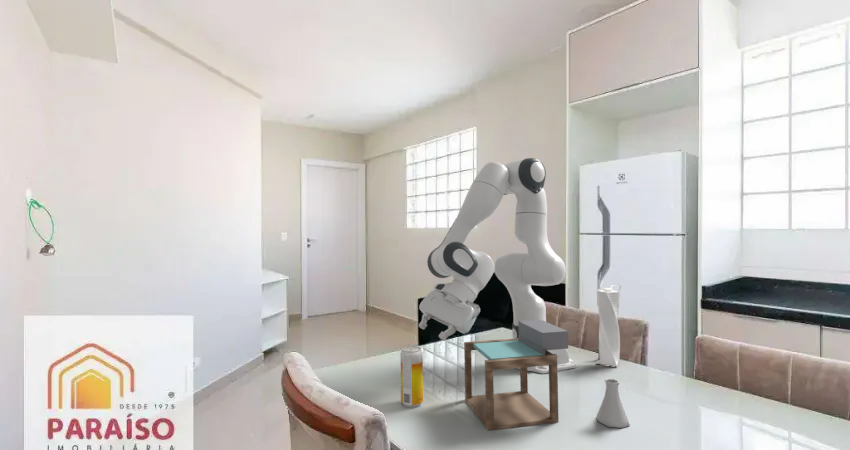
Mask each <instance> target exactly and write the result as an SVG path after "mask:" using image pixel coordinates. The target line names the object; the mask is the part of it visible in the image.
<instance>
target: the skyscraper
mask: <svg viewBox="0 0 850 450" xmlns="http://www.w3.org/2000/svg"><path fill="white" fill-rule="evenodd" d="M613 287H619V288H618V291H617V290H613ZM621 287H622V286H621V284H618V283H614V284H612V285H611V286H610V287H609V288H608V287H604V288H603V289H602V288H597V290H596V298H597V301H596V302H597V309H598V316H599V323H598V325H599V326H598V327H599V328H598V337H597V339H598V348H597V351H598V358H597V359H596V362H595V365H596V364H600V365H599V366H601V365H609V366H617V365H618V362H619V361H620V354H621V353H620V352H621V337H620V326H619V322H618V317H619V316H618V315H619V311H620V310H619V309H620V298H621V297H620V296H621V293H620V291H621ZM619 363H620V362H619ZM617 367H619V365H618V366H617Z"/></svg>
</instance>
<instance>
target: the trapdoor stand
mask: <svg viewBox="0 0 850 450" xmlns="http://www.w3.org/2000/svg"><path fill="white" fill-rule="evenodd" d="M516 340H518V338H515V339H513V338H505V339H504V338H503V339H489V340H477V341H475V340H474V341H473V340H472V341H464V342H463V345H464V347H463V349H464V351H463V353H464V354H463V355H464V400H465V402H467V404H468V406H469V407H470V408H471V409H472V411H473V412H474V413H475V415H476V416H477V418H478V419H479V420H480V421H481V423H482V424H483V425H484V427H485V428H486V429H487V431H493V430H502V429H509V428H510V429H512V428H520V427H526V426H535V425H543V424H550V423H551V424H553V423H554V424H555V423H559V383H558V381H559V379H558V373H559V371H557V356H556V355H554V354H552V353H550V352H549V351H547V350H545V355H542V356H530V357H518V358H506V359H494V360H488V359H485V360H484V376H485V377H484V381H485V382H484V383H485V389H484V390H485V392H484V393H485V394H480V395H479V394H478V395H473V393H472V392H473V390H472V388H473V387H472V386H473V384H472V383H473V382H472V351H477V350H476V349H475V348H474V347H473V344H475V343H489V342H502V341H516ZM546 365H549V372H548V388H549V389H548V395H549V396H548V397H549V399H548V401H549V409H548V408H546V407H545V406H544V405H543V404H542V403H541V402H540V401H538V400H537V399H536V398H535V397H534V396H533V395H532V394H530V393H529V390H528V388H529V387H528V385H529V384H528V371H527V367H534V366H546ZM518 368H520V369H519V372H520V374H519V375H520V380H519V381H520V382H519V383H520V386H519V387H520V391H507V392H497V393H494V388H495V387H494V371H498V370H499V371H500V370H510V369H512V370H513V369H518Z"/></svg>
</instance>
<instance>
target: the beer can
mask: <svg viewBox="0 0 850 450" xmlns="http://www.w3.org/2000/svg"><path fill="white" fill-rule="evenodd" d="M423 358H424V357H423V350H422V347H420V346H418V345H417V346H416V345H410V346H409V345H408V346H404V347H402V348H401V351H400V401H401V403H402V406H404V407H405V408H417V407H420V406H422V403H423V402H424V370H423V369H424V368H423V367H424V365H423V364H424V363H423Z"/></svg>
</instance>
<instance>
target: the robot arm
mask: <svg viewBox="0 0 850 450" xmlns="http://www.w3.org/2000/svg"><path fill="white" fill-rule="evenodd" d="M546 172H547V171H546V168H545V165H544V164H543V162H542V161H541V160H540V159H538V158H532V157H527V158H523V159H519V160H515V161H510V162H509V163H506V164H502V163H501V162H499V161H490V162H488V163H486V164H485V165H484V166H483V167H482V168H481V169H480V171H479V172H478V173H477V175H476V177H475V178H474V179H473V182H472V184H471V185H470V187H469V190H468V192H467V194H466V195H465V198H464V201H463V203H462V205H461V207H460V209H459V211H458V214H457V215H456V218H455V219H454V221H453V223H452V225H451V227H450V228H449V230H448V232H447V233H446V236H445V237H444V238H443V240H442V241H441V243H440V244H439V245H438V246H437V247H436V248H434V249H433V250H432V251H431V252H430V253H429V254H428V257H427V262H426V263H427V268H428V270H429V272H430V273H431V275H433V276H434V277H436V278H439V279H447V278H449V277H453V280H452V282H447V283H436V284H435V285H434V286H433V290H430V292H428V293H427V295H426V296H425V297H424V298H423V299H422V300H421V302H420V304H419V305H418V306H419V307H418V308H419V310H420V311H421V313H422V316H421V321H420V322H419V323H418V327H419V328H420V329H422V330H426V328H427V327H428V324H427V323H428V321H430V319H433V320H435V321H437V322H439V323H441V324H443V325H445V326H447V329H446V330H444V331H442V330H441V332H440V333H439V334H438V338H439V339H440V340H442V341H446V340H447V339H448V337H450V336H451V335H453V334H455V333H456V332H457V331H458V332H459V333H462V334H463V335H465V334H467V333H469V332H470V330H471V329H472V326H474V323H476V322H475V321H476V320H477V317H478V316H479V315H480V312H481V308H480V305H479V304H477V303H474V301H476V299H477V298H478V295H479V293H480V291H482V290H483V289H484V288H485V287H486V286H487V284H488V282H489V281H490V280H491V278H492V277H493V274H494V273H495V276H496V277H497V279H498V280H499V281H500V282H501V283H502V284H503V285H504V286H505V288H506V289H507V291H508V294H509V295H510V298H511V303H512V312H513V314H512V315H513V322H512V327H511V328H512V330H511V334H512V339H515V338H518V335H519V322H518V321H529V320H543V321H545V322H547V314H546V313H547V312H546V311H547V309H546V303H545V301H544V299H543V298H541V297H540V296H539V295H537V294H536V292H534V290H533V289H532V286H540V287H549V286H550V287H551V286H555V285H560V284H561V283H562V282H563V281H564V279H565V278H566V273H567V269H566V264H565V262H564V260H563V259H562V258H561V257H560V256H559V255H557V254H556V252H555V251H554V250H553V248H552V246H551V244H550V242H549V239H548V204H547V203H548V201H547V200H548V199H547V194H546V191H545V189H544V186H545V181H546V179H547V178H546V177H547V176H546V175H547V173H546ZM506 195H515V198H516V205H515V206H516V207H515V213H514V214H515V215H514V216H515V219H514V235H515V238H517V240H518V241H519V242H521V243H523V244H525V246H526V249H527V253H516V252H515V253H513V252H511V253H507V254H502V255H499V256H498V257H497V258H496V260H495V262H494V260H493V259H492V257H491V256H490V255H489V254H488V253H486V252H485V251H478V250H474V249H473V248H469V247H468V246H467V245H465V244H464V243H465V240H466V239H467V237H468V235H469V234H470V233H471V231H472V230H473V229H474V228H476V226H477V225H479V224H481V222H484V221H485V220H486V219H488V218H489V217H490V216H492V215H493V214H494V212H495V211H496V209H497V208H498V207H499V205H500V203H501V202H502V199H503V197H504V196H506ZM568 350H569V349H557V350H547V351H549V352H550V353H552V354H554V355H556V356H557V372H559V371H565V370H570V369H574V368H577V362H575V361H574V360H573V359H572V358H570V355H569V351H568ZM517 369H518V370H520V368H517ZM527 372H534V373H539V374H549V365H546V366H534V367H527Z"/></svg>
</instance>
